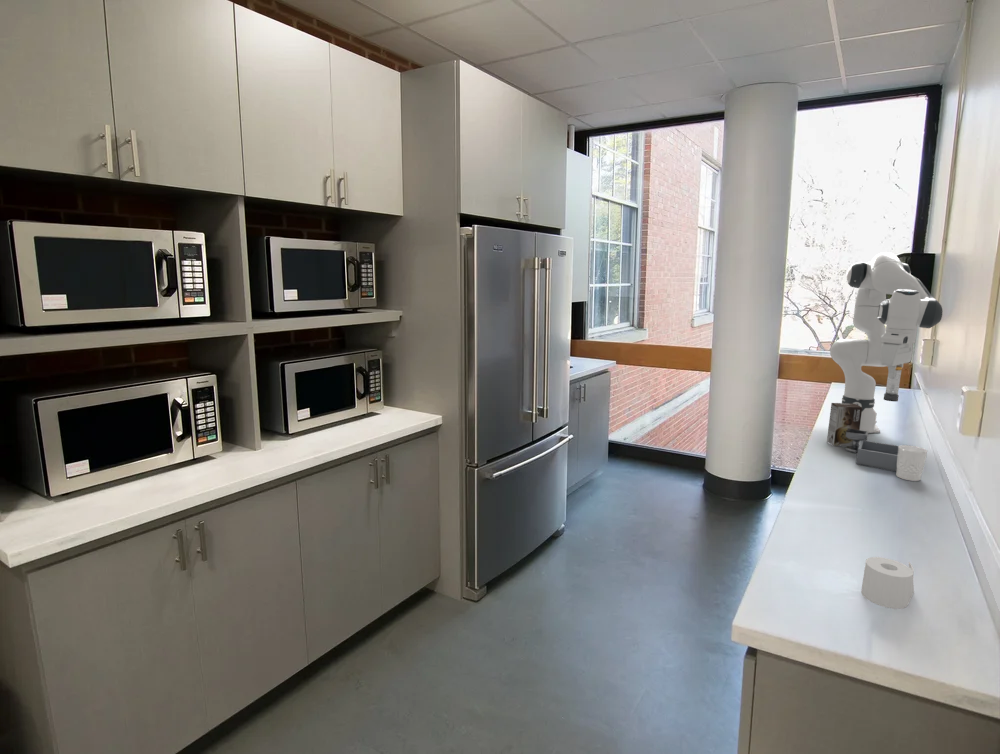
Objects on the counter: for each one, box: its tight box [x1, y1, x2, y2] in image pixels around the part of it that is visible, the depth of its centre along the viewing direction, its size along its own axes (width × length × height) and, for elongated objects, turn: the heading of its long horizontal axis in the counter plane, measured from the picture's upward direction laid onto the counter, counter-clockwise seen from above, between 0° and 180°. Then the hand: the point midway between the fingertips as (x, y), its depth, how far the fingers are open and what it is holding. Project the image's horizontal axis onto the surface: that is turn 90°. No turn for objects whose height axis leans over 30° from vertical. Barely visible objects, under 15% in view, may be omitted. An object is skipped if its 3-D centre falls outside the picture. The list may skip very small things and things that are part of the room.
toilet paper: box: [860, 556, 915, 610], centre depth 121 cm, size 8×11×7 cm
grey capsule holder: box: [845, 428, 869, 454], centre depth 221 cm, size 7×7×8 cm
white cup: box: [895, 444, 928, 482], centre depth 193 cm, size 8×8×10 cm
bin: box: [855, 440, 899, 472], centre depth 207 cm, size 15×15×6 cm
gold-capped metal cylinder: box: [883, 366, 903, 402], centre depth 203 cm, size 4×4×12 cm
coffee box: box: [826, 402, 862, 448], centre depth 229 cm, size 9×6×16 cm
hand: (894, 376), depth 202 cm, fingers closed on gold-capped metal cylinder, 4 cm apart
